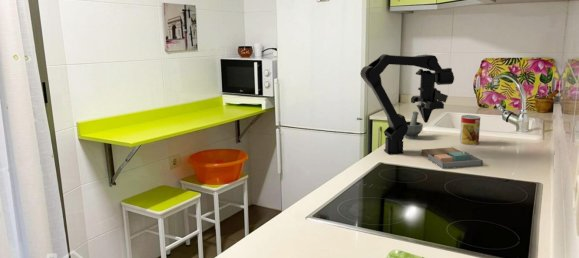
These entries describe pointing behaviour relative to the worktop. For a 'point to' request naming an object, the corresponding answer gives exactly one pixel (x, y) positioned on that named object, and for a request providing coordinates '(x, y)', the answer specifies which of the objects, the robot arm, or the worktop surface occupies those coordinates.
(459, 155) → the teal tile
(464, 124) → the canned food
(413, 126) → the mortar and pestle
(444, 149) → the walnut step
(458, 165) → the grey tray
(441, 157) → the terracotta tile
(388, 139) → the robot arm
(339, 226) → the worktop surface
